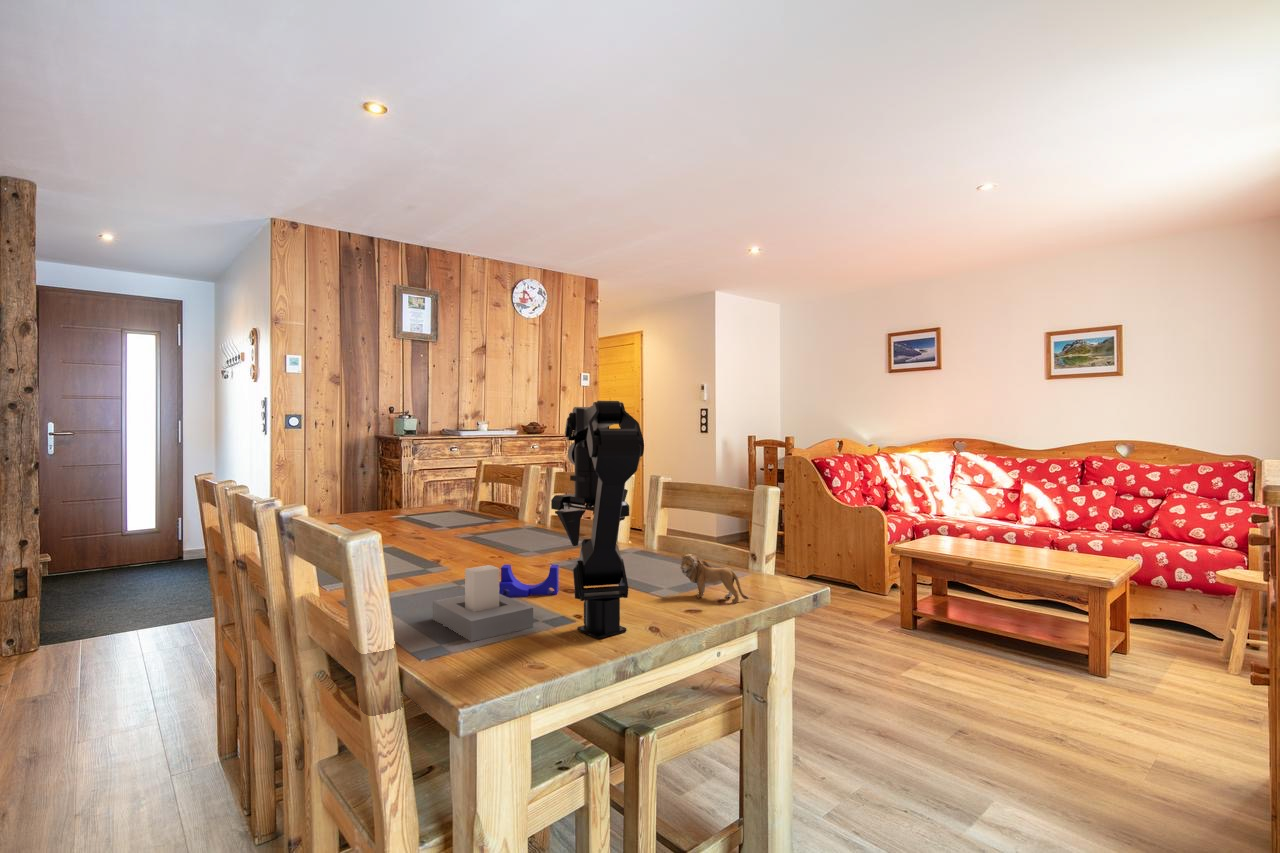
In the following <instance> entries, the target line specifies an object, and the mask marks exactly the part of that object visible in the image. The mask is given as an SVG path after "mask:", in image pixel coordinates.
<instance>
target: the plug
mask: <svg viewBox="0 0 1280 853" xmlns="http://www.w3.org/2000/svg"><path fill="white" fill-rule="evenodd" d="M499 583H500V568H499V567H498V566H497V567H496V566H494V565H492V564H488V565H482V566H481V565H480V566H474V567H473V566H472V567H469V568H468V567H467V568H464V595H465V609H467V610H469V611H471V612H477V611H481V610H486V609H491V608H496V607H499Z"/></svg>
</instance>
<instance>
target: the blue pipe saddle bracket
mask: <svg viewBox="0 0 1280 853" xmlns="http://www.w3.org/2000/svg"><path fill="white" fill-rule="evenodd" d="M559 566H560V565H559V564H551V565H550V566H549V572H548V575H547V577H546V579H544V580H543V581H542V582H539V583H537V584H526V583H523V582H521V581H519V579H517V577H516V576H515V575H514V573H513V571H512V570H513V569H512V565H511V564H503V565H502V566H501V568H500V581H499V594H501V595H504V596H506V597H509V598H528V597H529V596H557V595H558V593H559V592H560V591H559V590H560V588H559V587H560V586H559V584H560V582H559V577H560V576H559V574H560V573H559V570H560V569H559V568H560V567H559ZM550 588H551V589H553V590H551V589H550Z"/></svg>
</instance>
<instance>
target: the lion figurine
mask: <svg viewBox="0 0 1280 853" xmlns="http://www.w3.org/2000/svg"><path fill="white" fill-rule="evenodd" d="M680 570H681V573H682V575H683V576H685V577H686V578H688V579H689V581H690V582H691V583H693V584H697V589H698V592H697V594H696V596H697V597H702V598H704V594H705V590H706V585H712V586H717V585H721V584H723V586H724V588H726V590H727V591H728V594H725V595H724V598H726V597H731V598H732V596H734V598H732V600H731V602H732V604H738V602H739V600H740V598H739V597H740V596H741V597H742V598H743V599H744V600H749V599H750V598H749V597H748V596H747V595H745V594H744V593H743V590H742V588H741V583H740V581H739V578H738V575H737V574H736V571H734V570H733V569H732V568H730V567H712V565H710V564H709V562H707V561H706V560H704V559H702V558H700V557H699V556H697V555H696V554H695V555H694V554H692V553H686V554H683V556H681V562H680ZM734 583H736V586H737V589H735V586H734ZM738 591H739V593H738ZM698 593H699V595H698ZM703 593H704V594H703ZM739 594H740V596H739ZM696 596H695V597H696ZM697 597H696V598H697Z"/></svg>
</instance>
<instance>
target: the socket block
mask: <svg viewBox="0 0 1280 853" xmlns="http://www.w3.org/2000/svg"><path fill="white" fill-rule="evenodd" d="M434 620H435V622H436V621H437V622H436V623H438V622H439V623H441V624H443V625H444V626H443V625H442V626H443V627H445V626H446V627H448V628H449V629H448V628H447V629H448V630H450V629H451V630H450V631H452V630H453V631H454V633H455V632H456V633H455V634H457V633H458V634H457V635H459V636H460V635H461V636H460V637H462V636H463V637H462V638H464V639H465V640H467V639H468V640H467V641H469V642H471V643H472V641H473V642H476V640H477V641H481V640H486V639H489V638H493V637H497V636H501V635H506V634H509V633H510V634H511V633H514V632H518V631H521V630H522V631H523V630H526V629H531V628H533V627H534V608H533V607H532V606H531V605H527V604H525V603H523V602H520V601H518V600H515V599H513V598H512V597H506V596H504V595H501V594H499V607H496V608H491V609H486V610H481V611H477V612H471V611H469V610H467V609H465V594H463V595H458V596H456V595H455V596H451V597H447V598H441V599H437V600H432V621H434ZM439 623H438V624H439ZM441 624H440V625H441ZM446 627H445V628H446ZM453 631H452V632H453Z"/></svg>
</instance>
